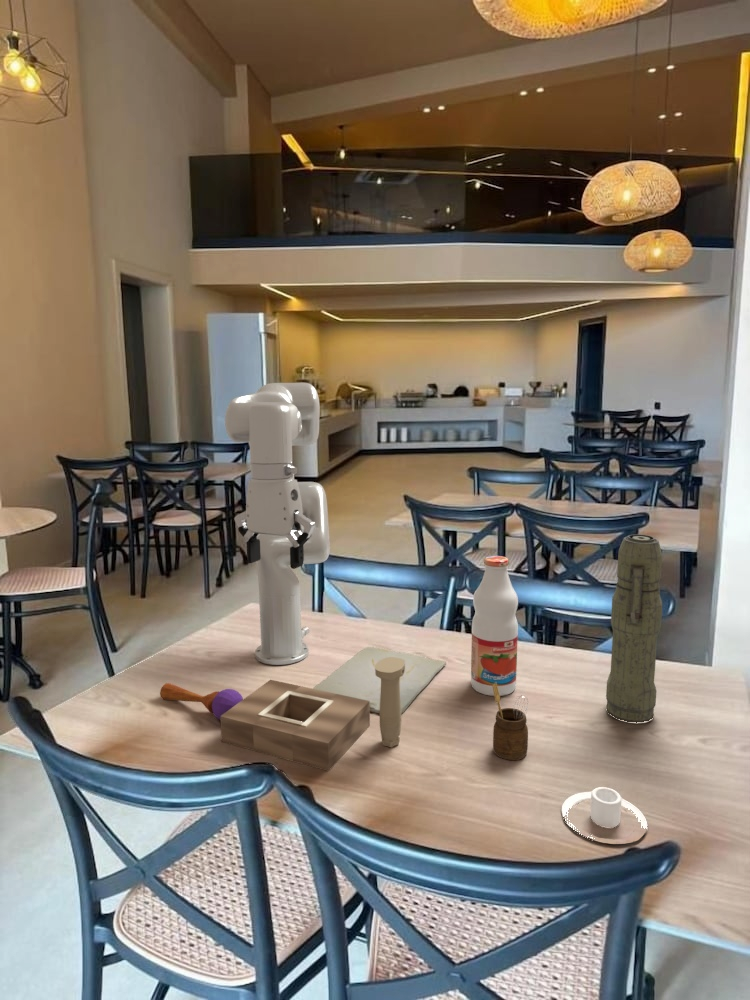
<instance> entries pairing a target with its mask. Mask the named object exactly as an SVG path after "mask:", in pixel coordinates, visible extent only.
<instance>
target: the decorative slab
mask: <svg viewBox="0 0 750 1000" xmlns="http://www.w3.org/2000/svg"><path fill="white" fill-rule="evenodd" d="M387 657H396V658H401V659H403V660H405V672H404V674H403V676H401V677H400V699H401V715H402V714H403V713H404V712H405V711H406V710H407V709H408V707H409V706H410V705H411V704H412V703H413V701H414V700H415V699H416V697H417V696H418V695H420V693H421V691H423V690H424V689H425V688H426V686H428V684H429V683H430V682H431V681H432V680H433V679H434V678H435V676H436V674H437V673H439V672H440V671H441V670H443V667H444V666H446V665H447V661H445V660H439V659H435V658H430V657H428V656H427V657H425V656H421V655H417V654H412V653H407V652H401V651H396V650H391V649H385V648H380V647H378V646H377V647H376V646H367V647H365V648H363V649H362V650H360V651H359V652H357V653H356V654H355V655H353V657H351V658H349V659H348V660H347V661H346V662H344V663H343V664H342V665H340V667H338V668H337V669H336V670H335V671H333V672H332V673H331V674H330V675H328V676H327V677H326V678H325V679H323V680H322V681H320V682H319V683H318V684H316V685H315V686H314V687H313V688H312V689H316V690H321V691H326V692H330V693H335V694H340V695H344V696H349V697H354V698H358V699H363V700H367V701H370V713H375V714H380V713H379V712H380V694H381V678H379V677H377V676H376V674H375V665H376V663H377V662H379V661H380V660H382V659H384V658H387Z"/></svg>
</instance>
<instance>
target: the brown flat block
mask: <svg viewBox="0 0 750 1000" xmlns="http://www.w3.org/2000/svg"><path fill="white" fill-rule="evenodd" d="M370 714H371V711H370V701H367V700H363V699H358V698H354V697H349V696H344V695H340V694H335V693H330V692H326V691H321V690H316V689H313V688H311V687H306V686H303V685H302V686H301V685H297V684H293V683H288V682H283V681H279V680H276V679H275V680H274V679H270V680H268V681H267V682H265V683H264V684H262V685H261V686H260V687H258V688H257V689H255V690H254V691H253V692H252V693H250V694H249V695H247V696H246V697H244V698H243V700H242V701H240V702H239V703H238V704H236V705H235V706H234V707H232V708H231V709H230V710H228V711H227V712H225V713H224V714H223V715H221V716H220V719H221V720H220V732H221V733H220V734H221V736H220V737H221V743H225V744H228V745H232V746H236V747H239V748H243V749H247V750H251V751H254V752H258V753H261V754H265V755H269V756H272V757H276V758H280V759H284V760H288V761H291V762H295V763H299V764H302V765H306V766H310V767H313V768H316V767H317V769H320V768H321V770H325V771H328V772H329V771H330V770H331V769H332V768H333V767H334V766H335V765H336V764H337V762H338V761H340V759H341V758H342V757H343V756H344V755H345V754H346V752H348V750H349V749H350V748H351V747H352V746H353V745H354V744H355V743H356V742H357V740H358V739H359V738H361V736H362V735H363V734H364V733H365V732H366V731H367V730H368V728H369V727H370V726H371V724H370V723H371V720H370V719H371V717H370V716H371V715H370ZM301 721H302V722H301Z"/></svg>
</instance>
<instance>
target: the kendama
mask: <svg viewBox="0 0 750 1000" xmlns="http://www.w3.org/2000/svg"><path fill="white" fill-rule="evenodd" d="M159 696H160V698H161V699H162V700H165V701H179V702H180V701H181V702H192V703H193V702H195V703H201V704H202V705H203V706H204V707H205V708H206V710H207V711H208V712H209V713H210V714H213V715H214V716H215V718H217V719H218V720H220V721H221V719H220V716H221V715H223V714H224V713H225V712H227V711H228V710H230V709H231V708H232V707H234V706H235V705H236V704H238V703H239V702H240V701H242V700H243V699H244V698H243V696H242V694H241V693H240V692H239V691H237V690H236V689H232V688H225V689H223V690H220V691H218V690H217V691H213V692H210V693H208V694H206V695H201V694H198V693H195V692H193V691H191V690H188V689H185V688H183V687H180V686H177V685H174V684H173V683H170V682H166V683H164V684H163V685H162V686H161V687H160V691H159Z"/></svg>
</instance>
